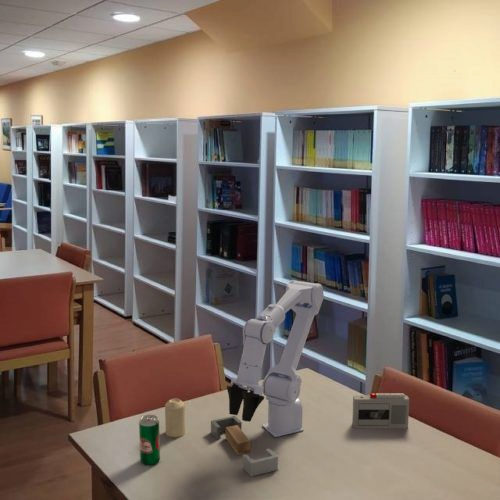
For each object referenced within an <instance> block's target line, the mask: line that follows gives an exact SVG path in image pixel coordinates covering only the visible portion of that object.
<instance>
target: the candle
mask: <svg viewBox="0 0 500 500" xmlns="http://www.w3.org/2000/svg"><path fill="white" fill-rule="evenodd" d="M185 405H186V404H185V402H183V401H182V400H181V399H180V398H177V397H174V398H171V399H168V401H167V402H166V403H165V404H164V418H165V419H164V420H165V421H164V422H165V425H164V426H165V436H167V437H169V438H180V437H182V436H184V435H185V433H186V412H185V411H186V410H185V408H186V406H185Z"/></svg>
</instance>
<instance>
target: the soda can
mask: <svg viewBox="0 0 500 500" xmlns="http://www.w3.org/2000/svg"><path fill="white" fill-rule="evenodd" d="M139 420H140V421H139V422H138V429H139V431H138V432H139V461H140V463H141V464H142V465H144V466H148V467H150V466H151V467H152V466H156V465H157V464H158V463H159V462H160V460H161V449H160V448H161V447H160V446H161V445H160V442H161V440H160V420H159V419H158V416H156V415H155V414H146V415H143V416H141V417H140V419H139Z"/></svg>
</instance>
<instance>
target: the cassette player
mask: <svg viewBox="0 0 500 500" xmlns="http://www.w3.org/2000/svg"><path fill="white" fill-rule="evenodd" d="M409 414H410V398H409V396H408V395H405V393H400V392H398V393H397V392H395V393H391V392H390V393H389V392H388V393H386V392H383V393H382V392H380V393H379V392H378V393H377V392H373V393H372V392H370V394H368V395H365V394H364V395H363V394H362V395H360V394H359V395H353V397H352V421H351V422H352V426H353V429H409Z"/></svg>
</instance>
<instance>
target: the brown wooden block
mask: <svg viewBox="0 0 500 500" xmlns="http://www.w3.org/2000/svg"><path fill="white" fill-rule="evenodd" d="M225 430H226V431H225V439H226V441H227V442H228V444H229V445H230V446H231V448H232V449H233V450H234V452H235V453H236V454H237V455H239V456H240V455H246V454H249V453H251V440H250V439H249V438H248V436H247V435H246V434H245V433H244V431H243V430H242V428H241V429H240V428H239V427H238V425H235V426H229V427H225Z"/></svg>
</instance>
